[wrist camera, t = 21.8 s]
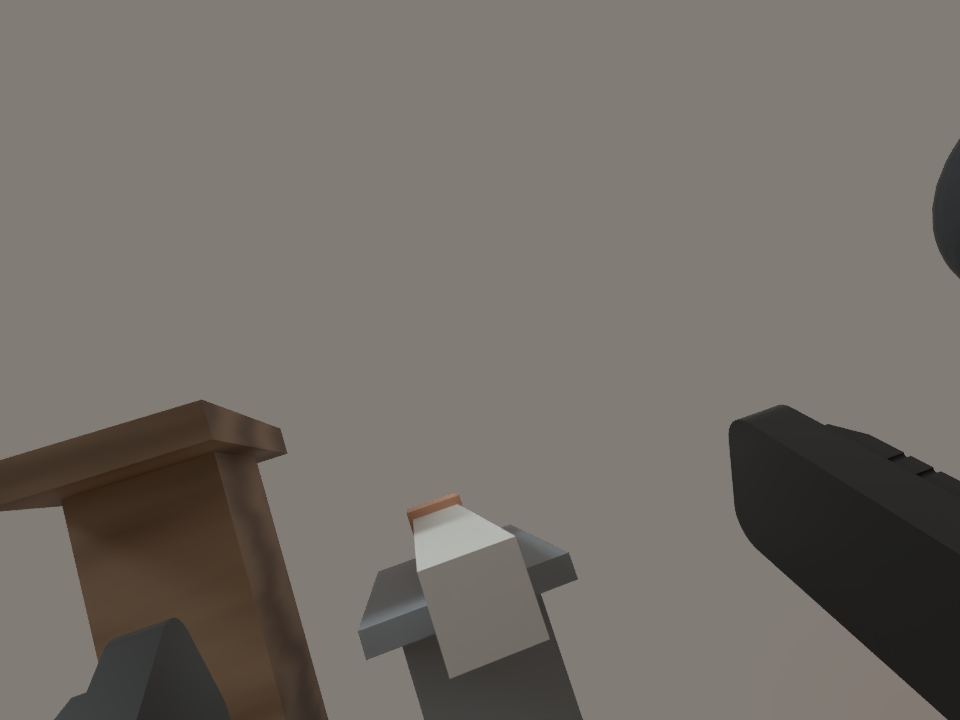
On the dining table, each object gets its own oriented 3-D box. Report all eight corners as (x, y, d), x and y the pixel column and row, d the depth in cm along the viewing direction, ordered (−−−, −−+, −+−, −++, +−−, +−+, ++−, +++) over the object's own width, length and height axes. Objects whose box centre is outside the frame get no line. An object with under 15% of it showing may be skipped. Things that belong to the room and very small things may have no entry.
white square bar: (558, 636, 14) (518, 516, 15) (441, 682, 14) (402, 558, 14) (468, 540, 36) (453, 493, 36) (421, 557, 35) (406, 509, 36)
